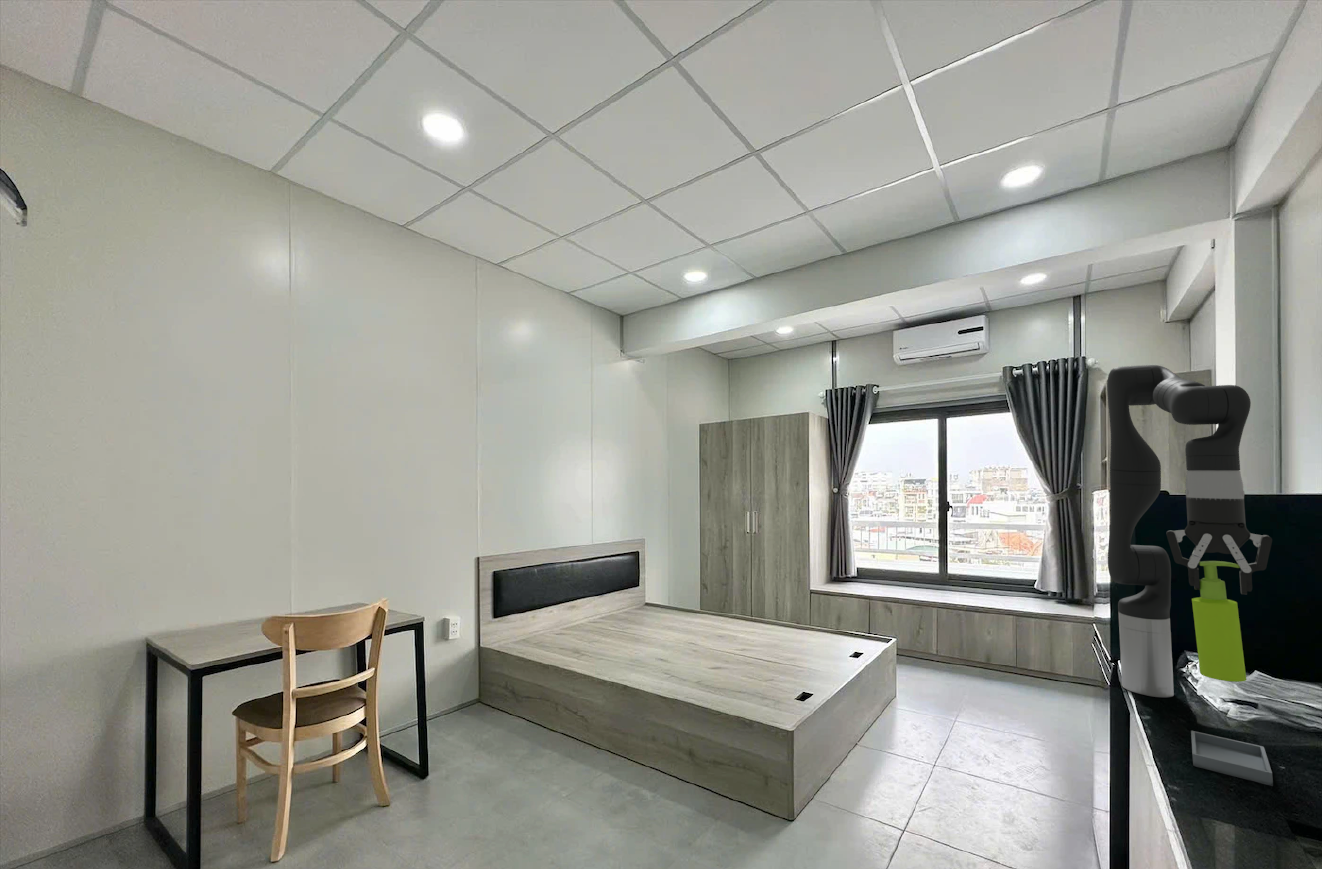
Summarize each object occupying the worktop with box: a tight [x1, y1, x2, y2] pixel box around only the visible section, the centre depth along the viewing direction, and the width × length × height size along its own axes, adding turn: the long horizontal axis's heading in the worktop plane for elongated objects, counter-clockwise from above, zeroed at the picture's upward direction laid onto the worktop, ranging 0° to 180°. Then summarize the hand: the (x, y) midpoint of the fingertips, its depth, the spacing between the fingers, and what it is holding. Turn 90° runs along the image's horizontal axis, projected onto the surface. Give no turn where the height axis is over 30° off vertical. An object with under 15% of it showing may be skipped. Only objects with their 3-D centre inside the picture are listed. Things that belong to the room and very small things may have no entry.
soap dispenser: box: [1191, 560, 1247, 683], centre depth 102 cm, size 6×7×20 cm
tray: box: [1190, 730, 1274, 787], centre depth 101 cm, size 12×10×2 cm
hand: (1219, 591), depth 103 cm, fingers closed on soap dispenser, 5 cm apart
